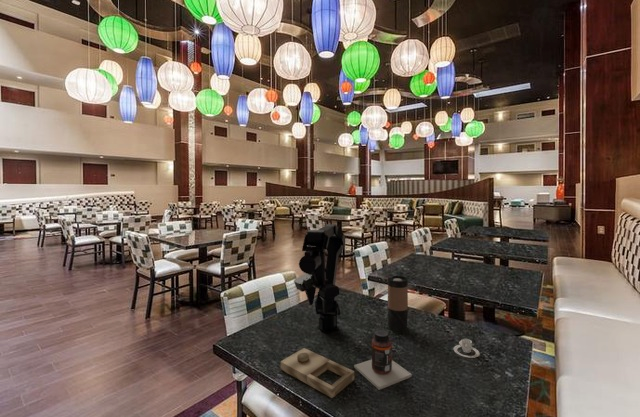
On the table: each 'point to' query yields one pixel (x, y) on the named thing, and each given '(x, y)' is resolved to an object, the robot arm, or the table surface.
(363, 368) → the grey pad
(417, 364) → the table surface
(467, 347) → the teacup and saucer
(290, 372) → the sliding-lid wooden box
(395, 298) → the travel mug
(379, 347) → the supplement bottle
